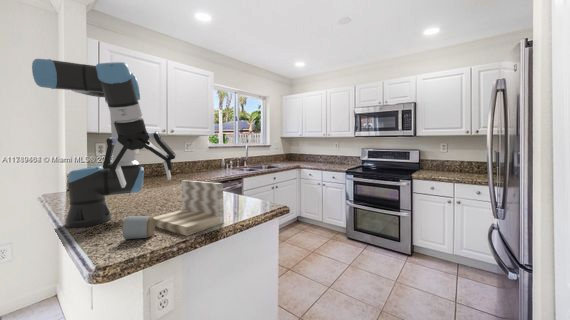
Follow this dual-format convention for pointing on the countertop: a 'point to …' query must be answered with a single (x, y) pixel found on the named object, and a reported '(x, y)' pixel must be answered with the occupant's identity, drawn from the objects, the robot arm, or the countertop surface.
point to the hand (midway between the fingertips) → (147, 182)
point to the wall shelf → (195, 209)
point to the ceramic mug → (138, 227)
